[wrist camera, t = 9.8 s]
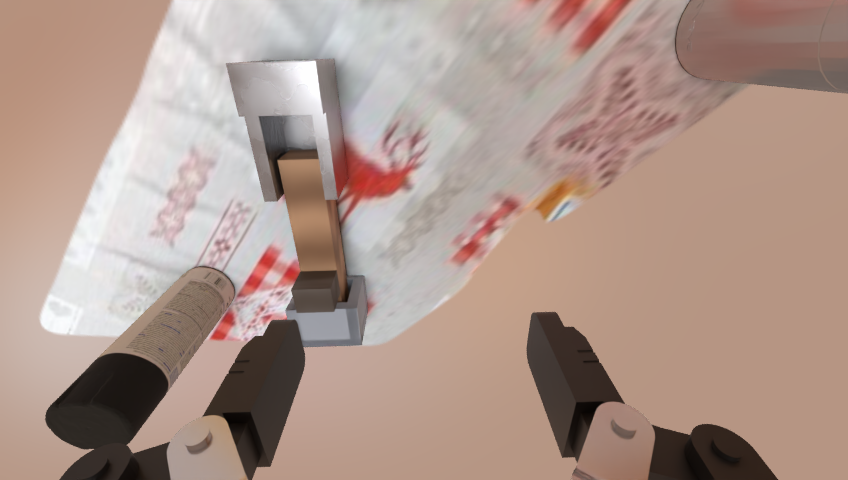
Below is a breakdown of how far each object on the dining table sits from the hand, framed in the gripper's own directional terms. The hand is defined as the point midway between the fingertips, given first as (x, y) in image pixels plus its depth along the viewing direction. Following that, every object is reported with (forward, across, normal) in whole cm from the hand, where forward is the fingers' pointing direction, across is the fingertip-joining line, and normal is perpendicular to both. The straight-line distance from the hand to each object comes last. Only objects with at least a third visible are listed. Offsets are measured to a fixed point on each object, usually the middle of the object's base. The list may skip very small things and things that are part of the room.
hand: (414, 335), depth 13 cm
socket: (+30, +11, +20) cm, 38 cm away
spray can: (+30, +27, +18) cm, 44 cm away
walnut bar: (+29, +11, +10) cm, 33 cm away
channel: (+30, +11, -2) cm, 32 cm away
